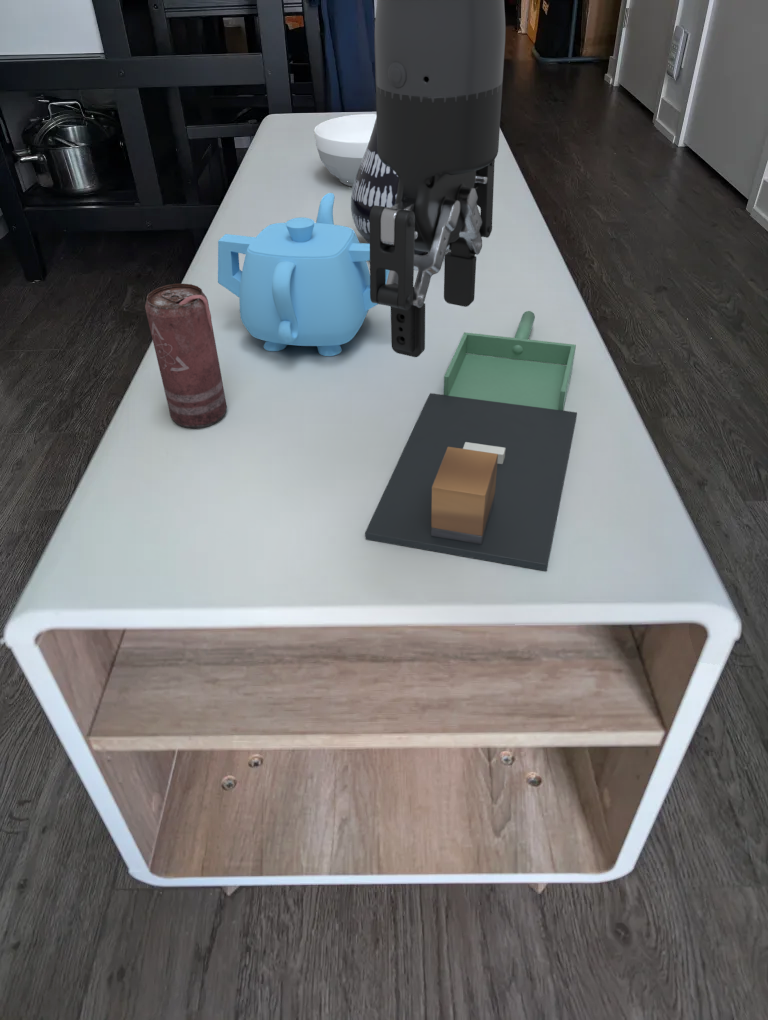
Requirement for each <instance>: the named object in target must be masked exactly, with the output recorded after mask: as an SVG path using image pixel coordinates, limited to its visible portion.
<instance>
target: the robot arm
mask: <svg viewBox="0 0 768 1020" xmlns="http://www.w3.org/2000/svg"><path fill="white" fill-rule="evenodd" d="M505 9H506V8H505V0H376V9H375V18H374V41H373V42H374V43H373V44H374V75H375V78H374V79H375V108H376V111H375V112H376V113H375V114H376V115H377V149H378V156H379V158H380V160H381V161H382V162H383V163H384V164H385V165H386V166H388V167H390V168H392V169H393V170H394V171H395V173H396V174H397V175H398V178H399V182H398V190H397V196H396V201H395V205H394V206H392V207H390V208H389V207H383V206H376V205H375V206H373V207H372V209H371V212H370V261H369V273H370V299H371V302H372V303H377V304H378V305H382V306H386V307H390V336H391V337H390V339H391V340H390V341H391V343H390V345H391V349H392V351H393V352H394V353H396V354H399V355H404V356H408V357H412V358H418V357H420V356H421V354H423V353H424V352H425V350H426V303H425V301H426V298H427V294H428V289H429V286H430V282H431V279H432V277H433V276H434V275H436V274H438V273H439V272H440V271H441V269H442V266H443V262H444V266H443V267H444V269H443V270H444V271H443V299H444V301H445V302H446V303H447V304H449V305H454V306H460V307H463V308H467V307H469V306H470V305H471V304H472V303H473V302H474V301H475V293H476V273H477V256H478V255H480V253H481V251H482V248H483V238H487V239H488V238H490V236H491V235H492V234H491V233H492V231H493V216H494V215H493V213H494V212H493V210H494V184H495V162H496V161H495V160H496V158H497V156H498V154H499V146H500V133H501V131H500V130H501V115H502V112H501V111H502V98H503V97H502V96H503V83H504V82H503V81H504V67H505V51H506V50H505V48H506V12H505V11H506V10H505ZM479 209H480V210H479ZM414 250H419V251H424V252H426V253H427V254H426V253H425V254H424V255H417V254H414ZM447 250H448V251H447ZM446 251H447V252H446ZM476 255H477V256H476ZM386 270H390V271H389V275H388V278H387V282H386ZM415 271H417V274H416V277H415V278H414V275H415ZM414 279H415V281H414Z"/></svg>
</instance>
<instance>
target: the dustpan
mask: <svg viewBox="0 0 768 1020" xmlns="http://www.w3.org/2000/svg"><path fill="white" fill-rule="evenodd" d="M535 320H536V315H535V313H534V312H533V311H532V310H526V311H524V312H523V314H522V315H521V318H520V321H519V323H518V327H517V329H516V333H515V336H514V337H510V336H501V335H492V334H482V333H476V332H475V333H473V332H465V331H464V332H463V334H462V336H461V338H460V340H459V343H458V345H457V347H456V350H455V351H454V354H453V356H452V358H451V361H450V363H449V365H448V367H447V370H446V372H445V373H444V375H443V395H447V396H455V397H463V398H470V399H478V400H486V401H494V402H501V403H509V404H517V405H524V406H532V407H540V408H547V409H555V410H563V411H564V409H565V404H566V400H567V395H568V391H569V387H570V382H571V377H572V373H573V367H574V362H575V355H576V347H577V345H576V344H573V343H566V342H565V343H564V342H555V341H547V340H537V339H530V335H531V333H532V329H533V326H534V323H535Z"/></svg>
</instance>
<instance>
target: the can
mask: <svg viewBox="0 0 768 1020" xmlns="http://www.w3.org/2000/svg"><path fill="white" fill-rule="evenodd" d="M144 309H145V314H146V317H147V321H148V322H147V323H148V326H149V330H150V335H151V339H152V343H153V348H154V352H155V355H156V360H157V364H158V369H159V373H160V377H161V381H162V385H163V390H164V394H165V398H166V402H167V406H168V407H167V408H168V412H169V416H170V419H171V420H172V421H174V423H175V424H177V425H178V426H180V427H182V428H185V429H202V428H207V427H211V426H213V425H215V424H217V423H219V422H220V421H221V420H222V419H223V417H225V414H226V412H227V408H228V406H227V400H226V394H225V388H224V382H223V378H222V377H223V376H222V372H221V366H220V361H219V354H218V350H217V344H216V338H215V332H214V327H213V321H212V314H211V310H210V305H209V300H208V297H207V296H206V295H205V293H204V292H203V289H202V288H201V287H199V286H198V285H195V284H192V283H173V284H166V285H162V286H160V287H157V288H155V289H153V290H152V291H150V292H149V293H148V294H147V296H146V302H145V305H144Z"/></svg>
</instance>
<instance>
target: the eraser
mask: <svg viewBox="0 0 768 1020" xmlns="http://www.w3.org/2000/svg"><path fill="white" fill-rule="evenodd" d="M497 461H498V454H495V453H488V452H481V451H474V450H467V449H461V448H454V447H447V450H446V452H445V455H444V458H443V460H442V463H441V465H440V468H439V470H438V473H437V475H436V478H435V480H434V483H433V485H432V508H431V536H434V537H440V538H446V539H451V540H457V541H463V542H469V543H475V544H480V545H481V544H482V542H483V539H484V535H485V532H486V528H487V525H488V521H489V518H490V515H491V511H492V508H493V504H494V498H495V485H496V473H497Z"/></svg>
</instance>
